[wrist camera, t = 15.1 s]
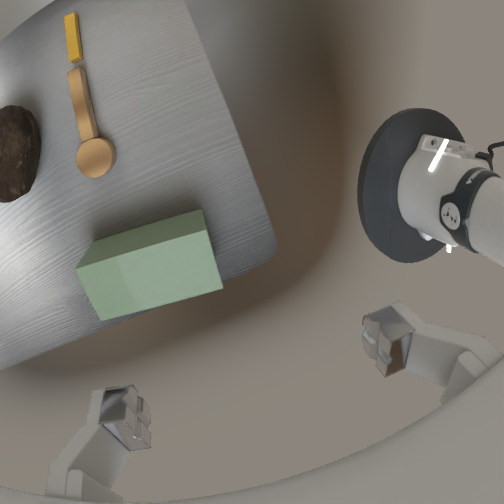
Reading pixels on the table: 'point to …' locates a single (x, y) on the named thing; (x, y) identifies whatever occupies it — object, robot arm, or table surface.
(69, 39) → the fry
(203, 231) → the sage green box
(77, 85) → the spoon
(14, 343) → the table surface
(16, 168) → the dark brown bone
